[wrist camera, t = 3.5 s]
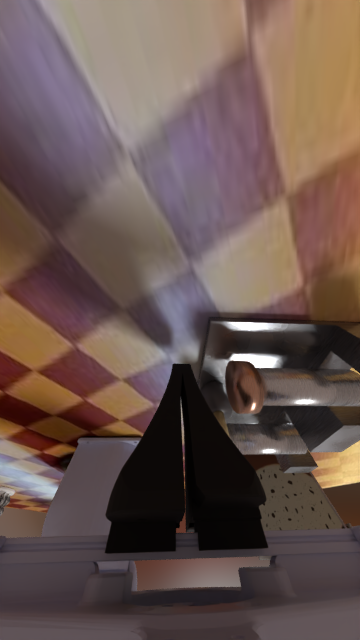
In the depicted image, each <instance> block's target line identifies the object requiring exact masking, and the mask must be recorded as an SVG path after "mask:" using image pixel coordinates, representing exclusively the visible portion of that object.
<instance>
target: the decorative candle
mask: <svg viewBox="0 0 360 640" xmlns="http://www.w3.org/2000/svg"><path fill="white" fill-rule="evenodd" d="M15 492H16V491H15V490H14V489H11V488H8V487H4V486H0V515H1V514H2V513H3V511H4V508H3V507H4V506H6V505H7V504H8V503H9V502H10V496H11V495H13V494H14V493H15Z"/></svg>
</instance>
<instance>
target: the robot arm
mask: <svg viewBox="0 0 360 640" xmlns="http://www.w3.org/2000/svg"><path fill="white" fill-rule="evenodd" d="M181 403H182V413H183V423H184V444H185V489H184V472H183V452H182V430H181ZM78 443H79V445H78V447H77V449H76V451H75V453H74V455H73V457H72V460H71V462H70V464H69V466H68V468H67V470H66V472H65V475H64V477H63V479H62V481H61V483H60V485H59V487H58V490H57V492H56V494H55V496H54V498H53V500H52V503H51V505H50V507H49V510H48V513H47V516H46V519H45V522H44V526H43V530H42V537H19V538H6V537H5V536H0V640H360V526H355V527H352V528H345V529H309V530H273V531H264V530H263V527H262V524H261V520H260V519H262V516H261V513H260V509H259V506H260V505H262V504H263V503H265V502H266V500H267V498H266V495H265V491H264V489H263V486H262V484H261V482H260V479H259V477H258V475H257V473H256V471H255V469H254V468H253V466H252V465H251V464H250V463H249V462H248V460H247V459H246V458H245V457H244V455H243V454H242V453H241V452H240V450H239V449H238V448H237V447H236V445H235V444H234V443H233V441H232V440H231V439H230V437H229V436H228V435H227V433H226V432H225V430H224V429H223V427H222V426H221V425H220V423H219V422H218V420H217V419H216V417H215V415H214V414H213V412H212V411H211V409H210V407H209V405H208V404H207V402H206V400H205V398H204V396H203V394H202V392H201V390H200V388H199V386H198V384H197V382H196V379H195V377H194V374H193V371H192V368H191V365H190V364H173V366H172V372H171V376H170V379H169V382H168V385H167V388H166V391H165V393H164V396H163V398H162V400H161V403H160V405H159V407H158V409H157V411H156V413H155V415H154V417H153V419H152V421H151V422H150V424H149V426H148V428H147V430H146V431H145V433H144V435H143V436H142V438H79V439H78ZM185 506H186V532H194V533H176V528H179V527H180V525H179V524H180V521H182V519H183V516H184V513H185ZM252 556H272V557H271V558H270V565H269V567H243V568H239V570H238V571H239V577H240V582H241V587H202V588H201V587H198V588H172V589H156V590H144V591H137V572H136V566H135V563H134V561H137V560H166V559H192V558H223V557H252Z"/></svg>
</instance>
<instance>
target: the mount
mask: <svg viewBox="0 0 360 640" xmlns="http://www.w3.org/2000/svg"><path fill="white" fill-rule="evenodd" d="M232 360H234V361H249V362H251V363H252V364H253V365H254V366H255V367H256V368H305V369H347V370H350V369H351V368H354V369H355V370H356V371H358V372H359V373H360V322H337V321H306V320H275V319H245V318H214V317H210V318H209V324H208V330H207V335H206V341H205V347H204V353H203V358H202V364H201V370H200V375H199V381H198V386H199V388H200V390H201V387H202V386H203V385H205V384H207V383H210V382H218V383H221V384H223V385H224V387H225V390H226V385H225V371H226V366H227V364H228V362H229V361H232ZM226 393H227V392H226ZM230 406H231V405H230ZM231 409H232V407H231ZM225 421H226V423H292V424H293V425H294V427H295V428H296V430H297V431H298V433H299V435H300V436H301V438H302V440H303V441H304V443H305V445H306V446H307V448H308V449H307V453H306V454H275V456H276V458H277V460H278V463H279V465H280V467H281V469H282V472H283V473H309V472H311V471H312V470H314V469H315V468H317V467H318V466H317V464H316V462H315V461H314V459H313V457H312V456H311V454H310V452H342V451H344V450H345V449H347V448H348V447H350V446H351V445H353V444H355V443H356V442H358V441H359V440H360V406H268V405H263V407H262V409H261V411H260V412H259V413H257V414H238V413H236V412H235V411H234V410H233V409H232V415H231V416H230V417H229V418H227V419H225ZM308 450H309V451H310V452H309V451H308Z"/></svg>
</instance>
